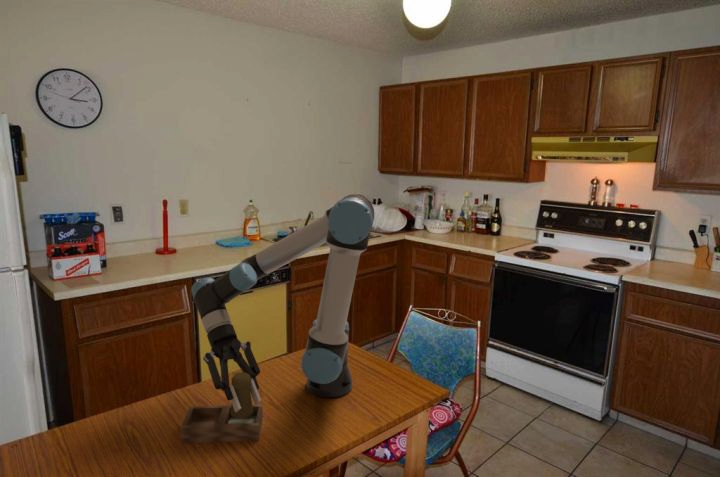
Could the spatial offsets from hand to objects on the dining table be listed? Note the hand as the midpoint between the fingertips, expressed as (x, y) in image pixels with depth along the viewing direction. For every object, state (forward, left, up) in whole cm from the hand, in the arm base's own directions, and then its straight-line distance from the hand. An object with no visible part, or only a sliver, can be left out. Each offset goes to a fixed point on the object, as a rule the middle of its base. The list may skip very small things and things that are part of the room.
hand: (248, 406), depth 121 cm
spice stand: (+7, -3, -9) cm, 12 cm away
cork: (+2, -3, -4) cm, 5 cm away
